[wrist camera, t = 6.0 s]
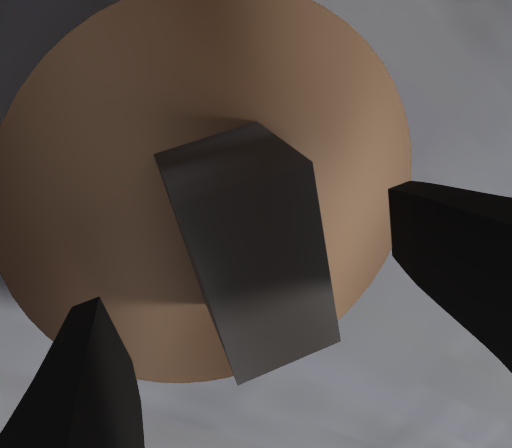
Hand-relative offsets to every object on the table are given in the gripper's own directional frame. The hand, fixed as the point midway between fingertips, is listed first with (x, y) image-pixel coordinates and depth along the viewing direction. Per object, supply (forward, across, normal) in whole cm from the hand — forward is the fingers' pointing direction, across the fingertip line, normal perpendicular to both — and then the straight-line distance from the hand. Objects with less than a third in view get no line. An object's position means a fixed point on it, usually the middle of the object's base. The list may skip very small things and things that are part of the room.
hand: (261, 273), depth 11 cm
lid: (+3, 0, 0) cm, 3 cm away
